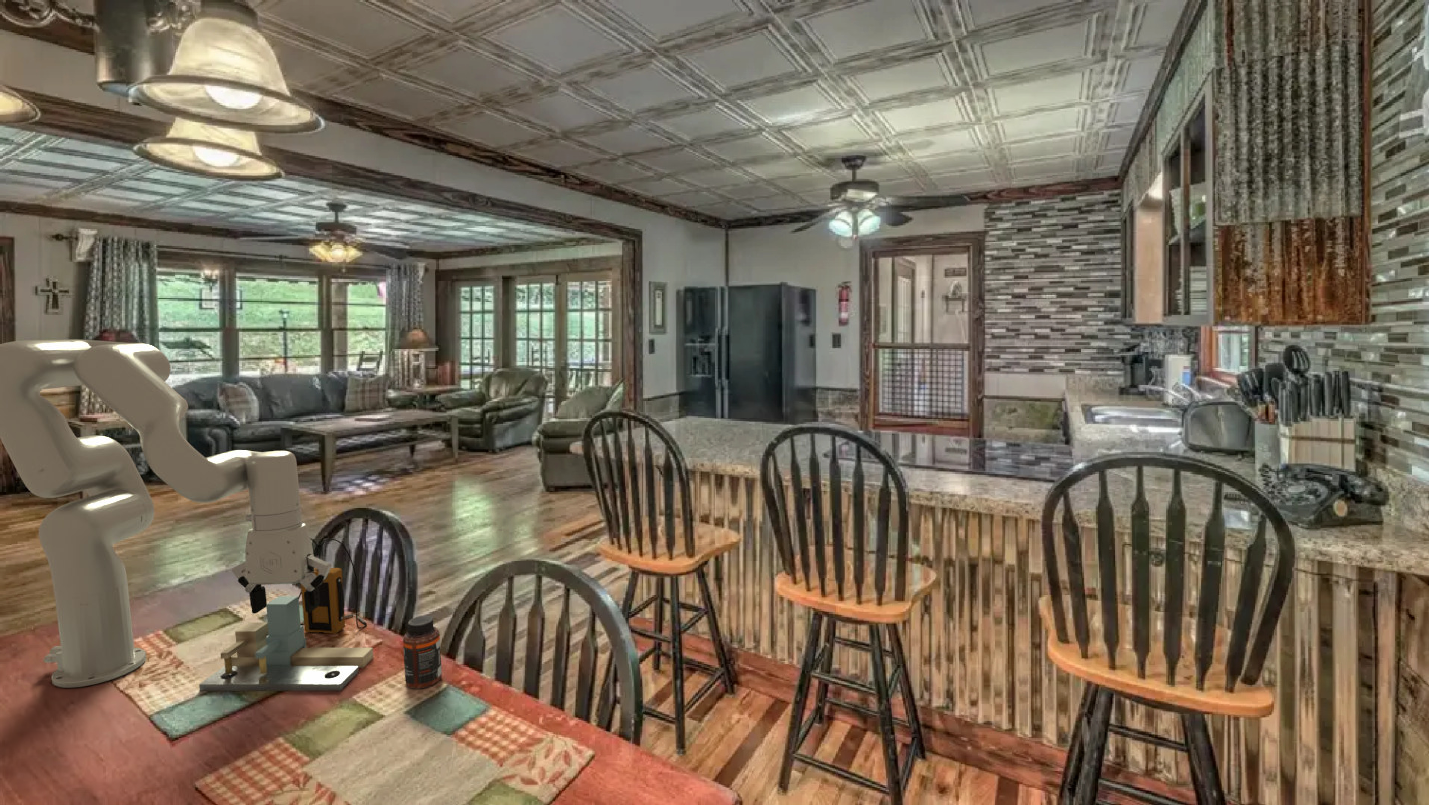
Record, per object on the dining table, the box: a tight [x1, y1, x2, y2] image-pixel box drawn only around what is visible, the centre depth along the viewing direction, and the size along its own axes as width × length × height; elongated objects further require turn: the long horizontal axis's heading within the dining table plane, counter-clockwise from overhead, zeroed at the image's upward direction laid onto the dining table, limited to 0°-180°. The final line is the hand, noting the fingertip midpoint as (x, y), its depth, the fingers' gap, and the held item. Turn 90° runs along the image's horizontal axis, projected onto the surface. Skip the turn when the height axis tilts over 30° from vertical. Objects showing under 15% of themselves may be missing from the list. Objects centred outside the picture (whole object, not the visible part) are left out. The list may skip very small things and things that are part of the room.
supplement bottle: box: [402, 615, 443, 689], centre depth 116 cm, size 6×6×11 cm
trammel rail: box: [220, 622, 374, 674], centre depth 120 cm, size 24×9×7 cm, turn 91°
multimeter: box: [298, 537, 368, 635], centre depth 138 cm, size 15×10×20 cm
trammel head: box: [255, 595, 307, 674], centre depth 120 cm, size 4×10×12 cm, turn 1°
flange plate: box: [198, 665, 360, 692], centre depth 117 cm, size 24×6×1 cm, turn 91°
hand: (286, 609), depth 122 cm, fingers open, 9 cm apart
